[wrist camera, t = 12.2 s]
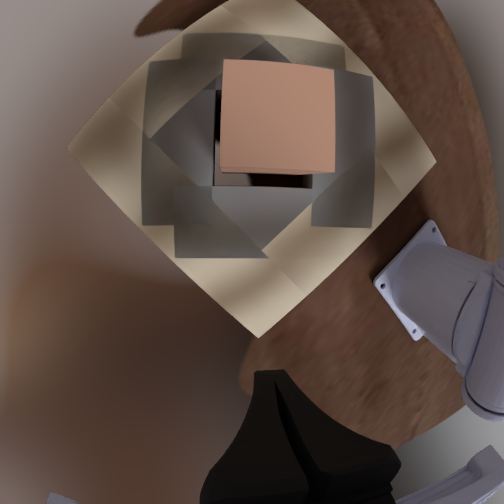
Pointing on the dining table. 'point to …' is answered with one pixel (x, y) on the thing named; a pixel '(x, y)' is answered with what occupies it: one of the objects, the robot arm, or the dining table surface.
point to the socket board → (249, 197)
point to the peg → (277, 118)
